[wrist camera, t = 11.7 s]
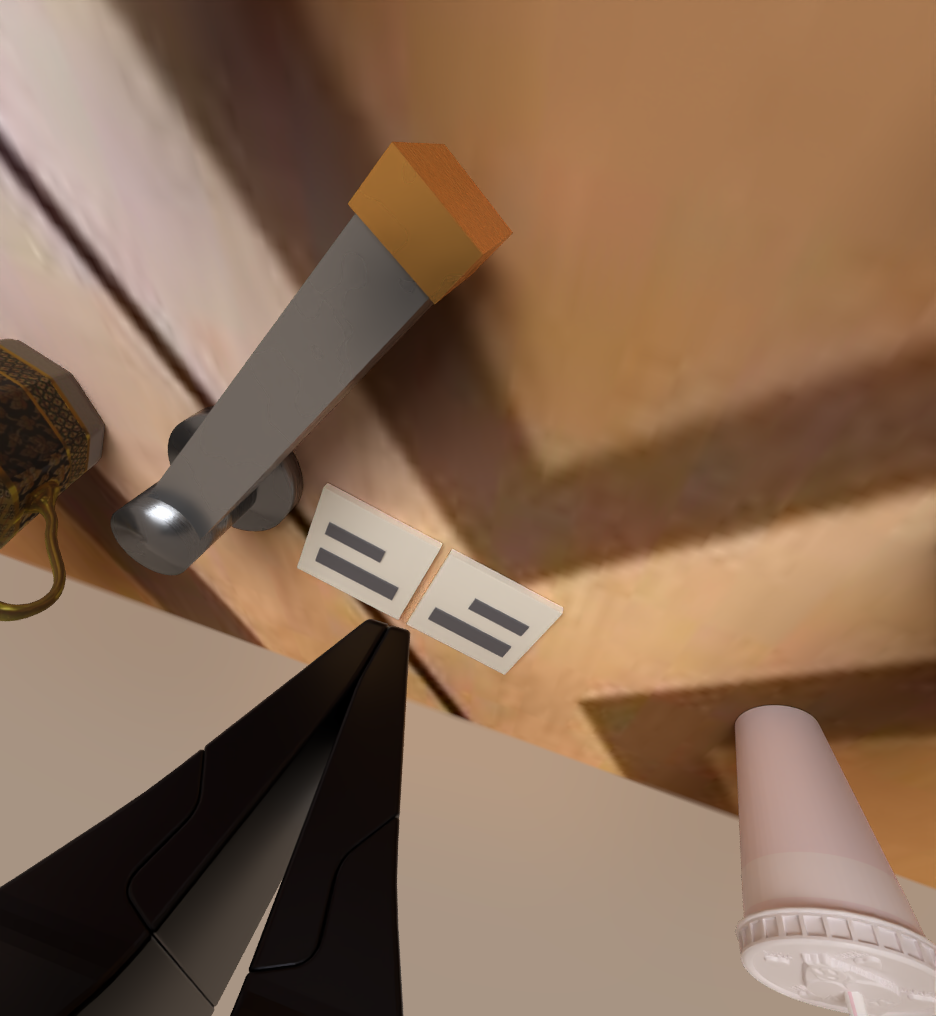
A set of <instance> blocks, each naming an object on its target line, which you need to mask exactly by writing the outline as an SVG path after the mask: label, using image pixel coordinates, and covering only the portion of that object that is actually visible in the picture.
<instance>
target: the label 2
mask: <svg viewBox="0 0 936 1016" xmlns="http://www.w3.org/2000/svg"><path fill="white" fill-rule="evenodd" d="M562 614H563V607H561V606H560V605H558V604H556V603H554V602H552V601H550V600H548V599H546V598H544V597H543V596H541V595H539V594H537V593H535V592H533V591H531V590H529V589H527V588H525V587H524V586H522V585H520V584H518V583H516V582H514V581H512V580H510V579H508V578H507V577H505V576H503V575H501V574H499V573H497V572H495V571H493V570H491V569H490V568H488V567H486V566H484V565H482V564H480V563H478V562H476V561H474V560H473V559H471V558H469V557H467V556H465V555H463V554H461V553H459V552H457V551H456V550H454V549H452V550H451V551H450V553H449V554H448V556H447V558H446V559H445V561H444V563H443V564H442V566H441V567H440V569H439V571H438V572H437V574H436V576H435V577H434V579H433V580H432V582H431V584H430V585H429V587H428V589H427V590H426V592H425V593H424V595H423V597H422V598H421V600H420V602H419V603H418V605H417V606H416V608H415V610H414V611H413V613H412V615H411V616H410V618H409V620H408V622H407V625H409V626H411V627H413V628H415V629H417V630H419V631H420V632H422V633H424V634H426V635H428V636H430V637H432V638H434V639H436V640H438V641H440V642H442V643H444V644H446V645H448V646H450V647H452V648H453V649H455V650H457V651H459V652H461V653H463V654H465V655H467V656H469V657H471V658H473V659H475V660H477V661H479V662H481V663H483V664H485V665H486V666H488V667H490V668H492V669H494V670H496V671H498V672H500V673H502V674H504V675H505V674H506V673H507V672H508V671H509V670H510V669H511V668H512V667H513V665H514V664H515V663H516V662H517V661H518V660H519V659H520V658H521V657H522V656H523V655H524V654H525V653H526V652H527V651H528V650H529V649H530V648H531V646H532V645H533V644H534V643H535V642H536V641H537V640H538V639H539V638H540V637H541V636H542V635H543V634H544V633H545V632H546V631H547V630H548V628H549V627H550V626H551V625H552V624H553V623H554V622H555V621H556V620H557V619H558V618H559V617H560V616H561V615H562Z"/></svg>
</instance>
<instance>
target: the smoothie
mask: <svg viewBox="0 0 936 1016" xmlns="http://www.w3.org/2000/svg"><path fill="white" fill-rule="evenodd" d="M735 741H736V762H737V784H738V806H739V828H740V848H741V871H742V874H741V878H742V894H743V910H744V918H743V919H742V920H740V921H739V922H738V924H737V927H736V930H735V933H736V935H737V938H738V941H739V945H740V953H741V961H742V964H743V966H744V968H745V969H746V970H747V972H749V973H750V974H751V975H752V976H753V977H754V978H755V979H756V980H758V981H759V982H761V983H762V984H764V985H765V986H767V987H769V988H771V989H773V990H775V991H777V992H779V993H781V994H783V995H786V996H788V997H791V998H793V999H796V1000H799V1001H802V1002H805V1003H808V1004H811V1005H814V1006H818V1007H822V1008H826V1009H829V1010H834V1011H839V1012H844V1013H849V1015H850V1016H936V945H935V944H934V943H933V942H931V941H930V940H929V939H927V938H926V937H925V935H924V933H923V931H922V929H921V927H920V925H919V923H918V920H917V919H916V917H915V914H914V912H913V910H912V908H911V906H910V904H909V902H908V900H907V898H906V896H905V894H904V892H903V890H902V888H901V886H900V884H899V882H898V880H897V878H896V876H895V875H894V873H893V871H892V869H891V867H890V865H889V863H888V861H887V859H886V857H885V855H884V853H883V851H882V849H881V847H880V845H879V843H878V841H877V839H876V837H875V835H874V833H873V831H872V829H871V827H870V825H869V823H868V821H867V819H866V817H865V815H864V813H863V811H862V809H861V807H860V805H859V803H858V801H857V799H856V797H855V795H854V793H853V791H852V789H851V787H850V785H849V783H848V781H847V779H846V777H845V775H844V773H843V771H842V769H841V767H840V765H839V763H838V761H837V759H836V757H835V755H834V753H833V751H832V749H831V747H830V745H829V743H828V741H827V739H826V737H825V735H824V733H823V731H822V729H821V727H820V725H819V723H818V722H817V720H816V719H815V718H814V717H813V716H811V715H810V714H808V713H807V712H805V711H802V710H800V709H797V708H793V707H789V706H781V705H767V706H760V707H756V708H753V709H750V710H748V711H746V712H744V713H743V714H741V715H740V716H739V717H738V718H737V720H736V722H735Z"/></svg>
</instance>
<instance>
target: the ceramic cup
mask: <svg viewBox="0 0 936 1016" xmlns="http://www.w3.org/2000/svg"><path fill="white" fill-rule="evenodd" d="M104 429H105V425H104V423H103V421H102V420H101V418H100V417H99V415H98V414H97V412H96V411H95V409H94V407H93V406H92V404H91V403H90V401H89V400H88V398H87V397H86V395H85V394H84V392H83V391H82V389H81V387H80V386H79V384H78V383H77V381H76V380H75V378H74V377H73V375H72V374H71V373H70V372H68V371H67V370H65V369H64V368H62V367H61V366H59V365H57V364H56V363H54V362H53V361H51V360H49V359H48V358H46V357H45V356H43V355H42V354H40V353H38V352H37V351H35V350H34V349H32V348H30V347H29V346H27V345H26V344H24V343H23V342H21V341H19V340H13V339H2V340H0V549H1V548H2V547H3V546H5V545H6V544H7V543H8V542H9V541H10V540H11V539H12V538H13V537H14V536H15V535H16V534H17V533H18V532H19V531H20V530H21V529H22V528H23V527H25V526H26V525H27V524H28V523H29V522H30V521H31V520H32V519H33V518H35V517H36V516H37V515H38V514H39V513H40V514H42V515H43V516H44V518H45V520H46V531H45V544H46V549H47V553H48V557H49V560H50V564H51V567H52V572H53V577H54V584H53V587H52V589H51V590H50V592H49V593H48V594H47V595H46V596H44V597H43V598H41V599H40V600H37V601H35V602H32V603H29V604H20V605H13V604H7V603H4V602H1V601H0V621H15V620H20V619H24V618H28V617H30V616H33V615H35V614H38V613H40V612H42V611H44V610H46V609H47V608H49V607H50V606H51V605H53V604H54V603H55V602H56V601H57V600H58V599H59V597H60V595H61V594H62V591H63V589H64V585H65V580H66V573H65V567H64V563H63V560H62V556H61V553H60V550H59V547H58V541H57V530H58V519H57V515H56V512H55V502H56V499H57V497H58V496H59V495H60V494H61V493H62V492H63V491H64V490H65V489H66V488H67V487H69V486H70V485H71V484H72V483H73V482H75V481H76V480H77V479H78V478H79V477H81V476H82V475H83V474H84V473H85V472H86V471H87V470H89V469H90V468H91V467H92V466H94V465H95V464H96V463H97V462H98V461H99V459H100V458H101V455H102V446H103V438H104Z"/></svg>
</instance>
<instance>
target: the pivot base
mask: <svg viewBox="0 0 936 1016" xmlns="http://www.w3.org/2000/svg"><path fill="white" fill-rule="evenodd" d="M213 407H214V406H212V407H207V408H205V409H203V410H201V411H199V412H197V413H196V414H194V415H193V416H191V417H189V418H188V419H186V420H184V421H183V422H181V423H180V424H178V425H177V426H176V427H175V429H174V430H173V431H172V433H171V435H170V438H169V442H168V456H169V461H170V465H171V464H172V463H173V462H174V460H175V459H176V457H177V456H178V455H179V453H180V452H181V451H182V449H183V448H184V447H185V445H186V444H187V442H188V441H189V440H190V438H191V437H192V436H193V434H194V433H195V432H196V430H197V429H198V427H199V426H200V425H201V423H202V422H203V421H204V419H205V418H206V417H207V415H208V414H209V412H210V411H211V410H212V408H213ZM302 488H303V481H302V474H301V470H300V467H299V464H298V461H297V459H296V457H295V455H294V453H293V452H291V453H290V454H289V455H288V456H287V457H286V458H285V459H284V460H283V461H282V462H281V463H280V464H279V465H278V466H277V467H276V468H275V469H274V470H273V472H272V473H271V474H270V475H269V476H268V477H267V478H266V479H265V480H264V481H263V482H262V483H261V484H260V485H259V486H258V487H257V488H256V490H257V498H256V501H255V503H254V505H253V506H252V507H251V508H250V509H249V510H248V511H247V512H246V513H245V514H244V515H243V516H241V517H240V518H239V519H238V520H237V521H236V522H235V523H234V524H233V525H232V527H234V528H238V529H241V530H247V531H263V530H267V529H270V528H273V527H275V526H276V525H278V524H279V523H280V522H281V521H282V520H283V519H284V518H285V517H286V516H287V515H288V513H289V512H290V511H291V510H292V509H293V508H294V507H295V506H296V505H297V503H298V501H299V500H300V497H301V494H302Z"/></svg>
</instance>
